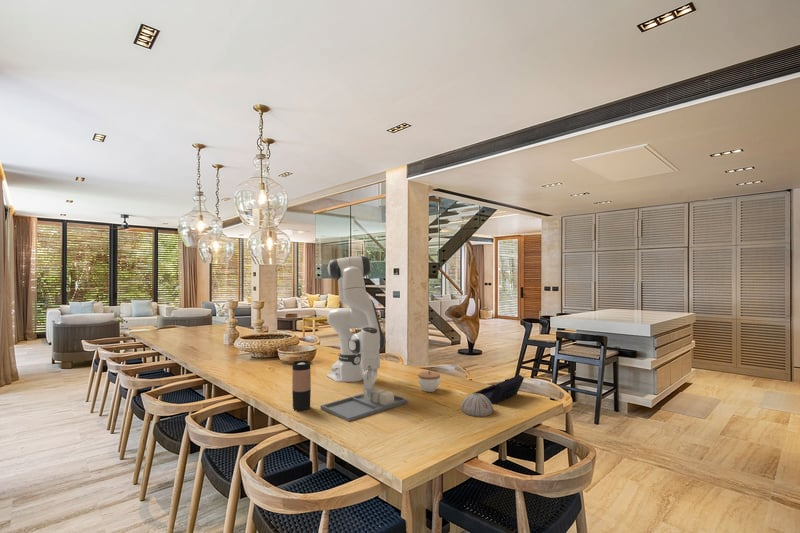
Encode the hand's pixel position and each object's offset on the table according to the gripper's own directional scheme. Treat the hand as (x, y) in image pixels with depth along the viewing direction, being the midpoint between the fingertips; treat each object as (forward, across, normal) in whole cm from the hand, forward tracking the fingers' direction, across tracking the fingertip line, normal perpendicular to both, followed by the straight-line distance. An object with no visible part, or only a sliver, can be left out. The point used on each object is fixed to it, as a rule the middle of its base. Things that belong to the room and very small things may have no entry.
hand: (370, 394), depth 182 cm
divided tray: (+3, -9, +1) cm, 10 cm away
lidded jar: (+3, +16, -27) cm, 32 cm away
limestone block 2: (+2, -4, -4) cm, 6 cm away
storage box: (+4, +6, -58) cm, 59 cm away
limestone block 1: (+2, 0, 0) cm, 2 cm away
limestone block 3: (+2, -7, -8) cm, 11 cm away
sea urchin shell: (+3, -14, -46) cm, 48 cm away
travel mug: (+3, -12, +28) cm, 31 cm away
